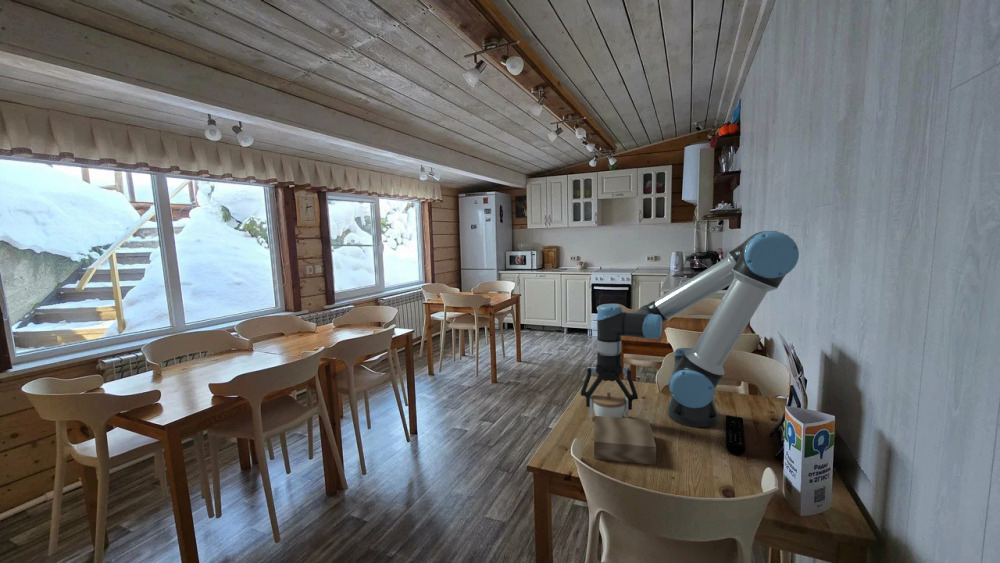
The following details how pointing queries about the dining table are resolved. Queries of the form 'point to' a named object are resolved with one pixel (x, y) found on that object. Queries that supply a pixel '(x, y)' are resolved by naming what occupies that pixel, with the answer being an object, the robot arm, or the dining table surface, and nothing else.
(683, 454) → the dining table surface
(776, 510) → the dining table surface
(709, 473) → the dining table surface
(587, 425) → the dining table surface
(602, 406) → the lidded jar
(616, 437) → the block
